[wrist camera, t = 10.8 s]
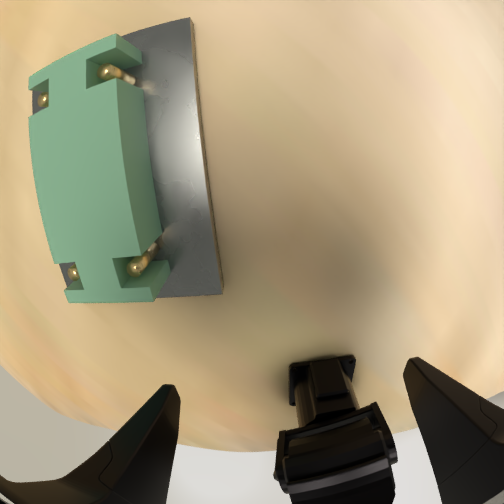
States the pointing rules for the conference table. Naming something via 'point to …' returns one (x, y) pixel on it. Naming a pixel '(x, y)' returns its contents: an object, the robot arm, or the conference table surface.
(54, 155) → the green notched block
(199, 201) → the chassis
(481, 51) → the conference table surface
